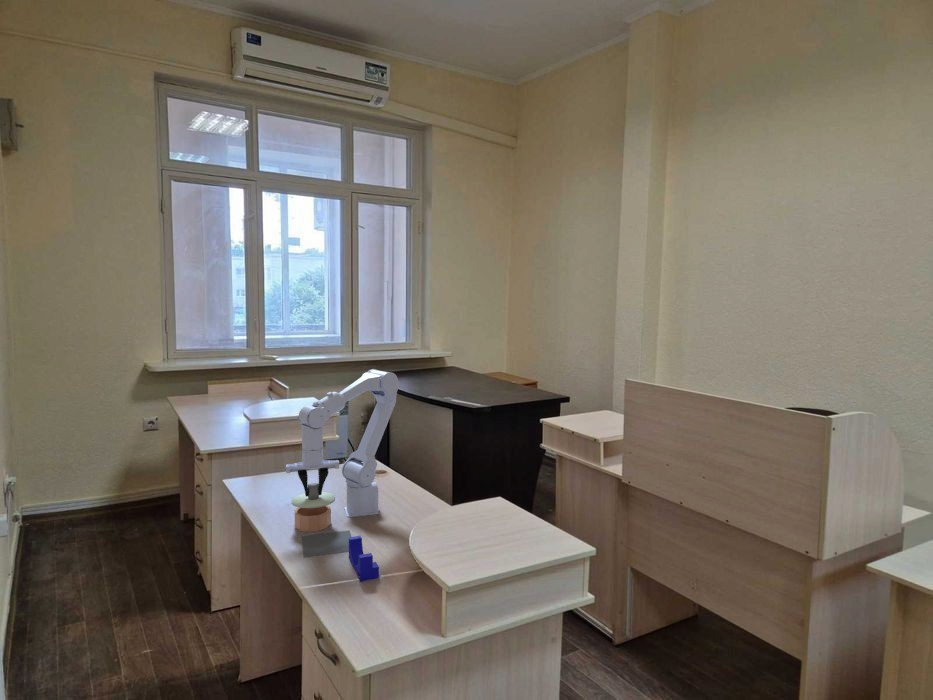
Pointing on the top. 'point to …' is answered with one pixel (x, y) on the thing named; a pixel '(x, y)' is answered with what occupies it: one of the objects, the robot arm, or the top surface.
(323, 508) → the bowl
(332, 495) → the lid
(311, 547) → the mat
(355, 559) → the blue stepped bracket
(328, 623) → the top surface
